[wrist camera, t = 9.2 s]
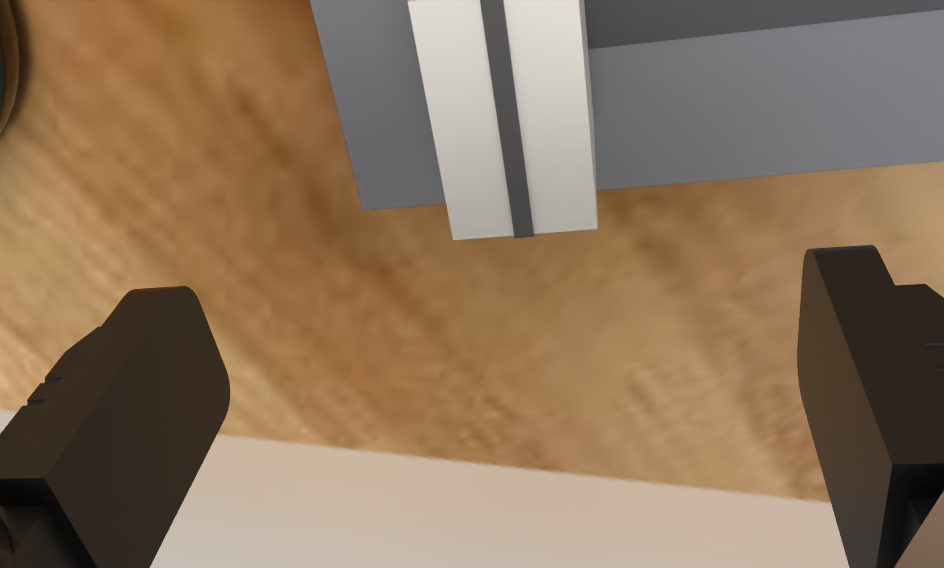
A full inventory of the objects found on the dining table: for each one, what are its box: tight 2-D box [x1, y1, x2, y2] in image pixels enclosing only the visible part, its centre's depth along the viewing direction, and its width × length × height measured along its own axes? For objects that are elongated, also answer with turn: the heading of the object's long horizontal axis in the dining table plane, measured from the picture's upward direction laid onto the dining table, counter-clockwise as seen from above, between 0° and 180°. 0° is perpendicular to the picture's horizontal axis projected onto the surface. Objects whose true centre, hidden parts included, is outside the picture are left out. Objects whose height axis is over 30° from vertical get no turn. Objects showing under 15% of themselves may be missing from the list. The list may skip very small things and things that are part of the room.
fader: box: [408, 0, 598, 240], centre depth 19 cm, size 3×5×5 cm, turn 8°
